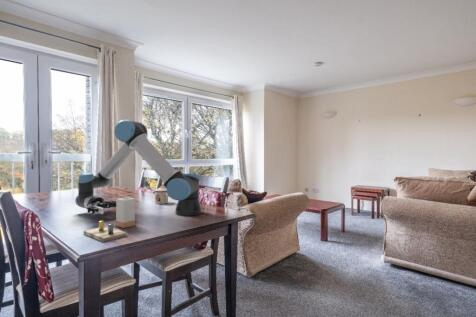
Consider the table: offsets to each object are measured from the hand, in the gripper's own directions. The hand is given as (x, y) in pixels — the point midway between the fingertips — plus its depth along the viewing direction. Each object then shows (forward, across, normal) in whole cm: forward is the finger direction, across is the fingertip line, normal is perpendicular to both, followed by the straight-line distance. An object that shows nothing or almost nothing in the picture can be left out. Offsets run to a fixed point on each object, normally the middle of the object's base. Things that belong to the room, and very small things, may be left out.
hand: (116, 208), depth 136 cm
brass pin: (+11, +13, -6) cm, 18 cm away
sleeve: (+8, 0, -7) cm, 10 cm away
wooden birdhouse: (-23, -47, -7) cm, 53 cm away
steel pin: (+19, +13, -6) cm, 24 cm away
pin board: (+14, +14, -7) cm, 21 cm away
